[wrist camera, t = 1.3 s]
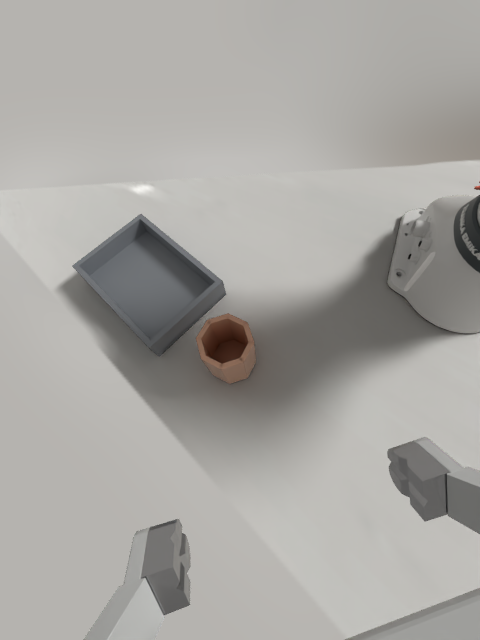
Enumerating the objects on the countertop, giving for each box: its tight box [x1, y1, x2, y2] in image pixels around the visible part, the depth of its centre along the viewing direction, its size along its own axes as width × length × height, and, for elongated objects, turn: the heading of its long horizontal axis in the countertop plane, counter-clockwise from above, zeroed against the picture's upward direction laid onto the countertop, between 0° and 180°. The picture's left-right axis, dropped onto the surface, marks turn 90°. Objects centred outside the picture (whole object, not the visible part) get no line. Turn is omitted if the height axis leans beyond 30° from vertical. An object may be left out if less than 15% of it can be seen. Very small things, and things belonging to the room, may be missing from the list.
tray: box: [73, 214, 226, 356], centre depth 45 cm, size 20×14×4 cm
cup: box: [196, 314, 256, 384], centre depth 37 cm, size 6×6×8 cm
